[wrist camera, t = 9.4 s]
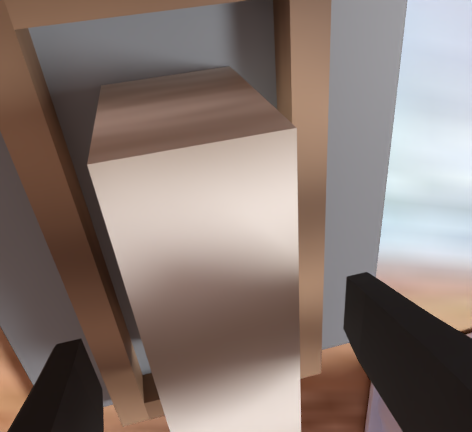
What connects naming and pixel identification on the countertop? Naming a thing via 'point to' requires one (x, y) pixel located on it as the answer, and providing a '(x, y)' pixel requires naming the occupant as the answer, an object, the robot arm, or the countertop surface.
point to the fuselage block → (206, 244)
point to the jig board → (170, 63)
